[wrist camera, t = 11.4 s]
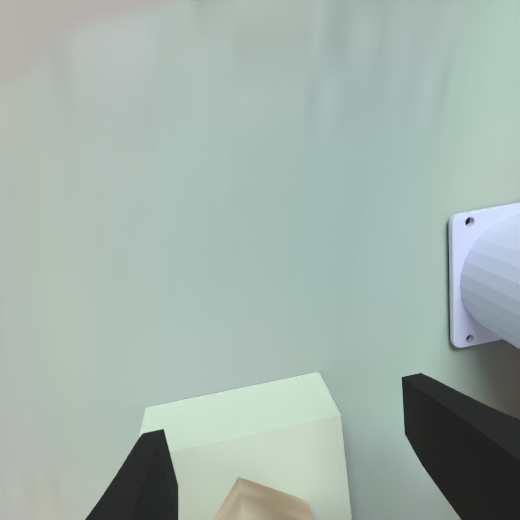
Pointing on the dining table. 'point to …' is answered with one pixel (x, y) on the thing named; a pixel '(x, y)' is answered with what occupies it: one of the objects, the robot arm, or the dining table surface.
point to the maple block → (261, 504)
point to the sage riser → (257, 445)
